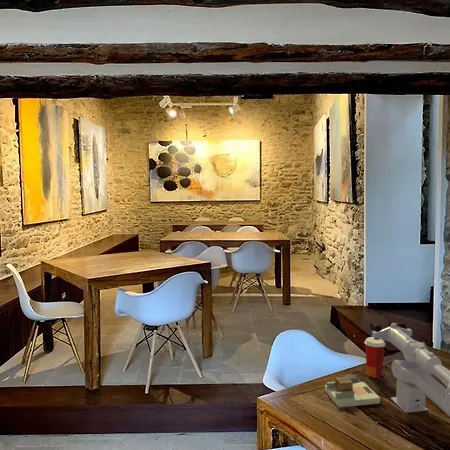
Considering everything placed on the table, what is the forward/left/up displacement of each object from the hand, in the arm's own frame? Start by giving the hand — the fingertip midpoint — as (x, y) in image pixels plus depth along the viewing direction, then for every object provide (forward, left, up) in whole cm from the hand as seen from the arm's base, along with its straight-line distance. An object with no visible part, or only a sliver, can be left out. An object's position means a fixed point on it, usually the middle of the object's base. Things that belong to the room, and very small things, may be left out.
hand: (380, 324), depth 165 cm
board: (-11, +16, -22) cm, 29 cm away
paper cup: (+4, 0, -22) cm, 22 cm away
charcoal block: (-2, +13, -22) cm, 26 cm away
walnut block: (-11, +19, -20) cm, 30 cm away
